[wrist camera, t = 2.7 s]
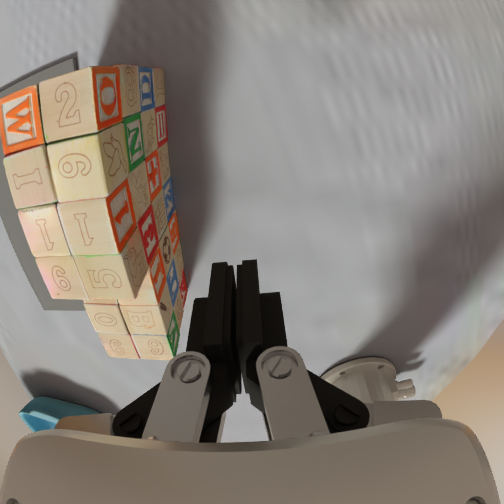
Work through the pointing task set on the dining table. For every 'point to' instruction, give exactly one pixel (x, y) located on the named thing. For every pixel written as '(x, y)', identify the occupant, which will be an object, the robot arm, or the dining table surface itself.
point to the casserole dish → (50, 412)
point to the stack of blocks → (101, 201)
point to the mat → (4, 206)
